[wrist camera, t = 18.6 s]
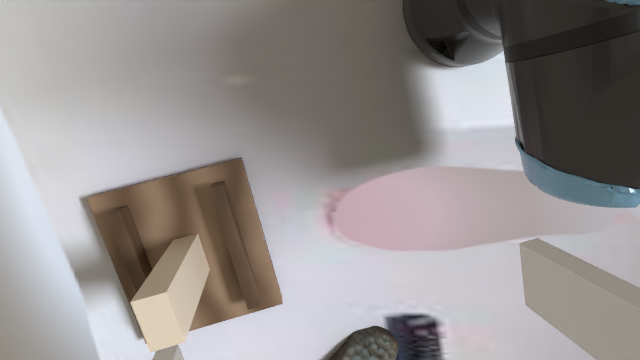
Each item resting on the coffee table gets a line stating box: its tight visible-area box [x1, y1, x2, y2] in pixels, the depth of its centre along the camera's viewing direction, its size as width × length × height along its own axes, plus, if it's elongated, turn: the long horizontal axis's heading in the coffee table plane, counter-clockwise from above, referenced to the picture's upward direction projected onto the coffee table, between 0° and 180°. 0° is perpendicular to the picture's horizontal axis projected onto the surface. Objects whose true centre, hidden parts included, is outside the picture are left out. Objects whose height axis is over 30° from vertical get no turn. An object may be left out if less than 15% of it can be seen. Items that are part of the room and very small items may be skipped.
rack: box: [87, 158, 283, 344], centre depth 43 cm, size 18×20×4 cm
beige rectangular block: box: [130, 233, 210, 352], centre depth 37 cm, size 3×5×14 cm, turn 13°
